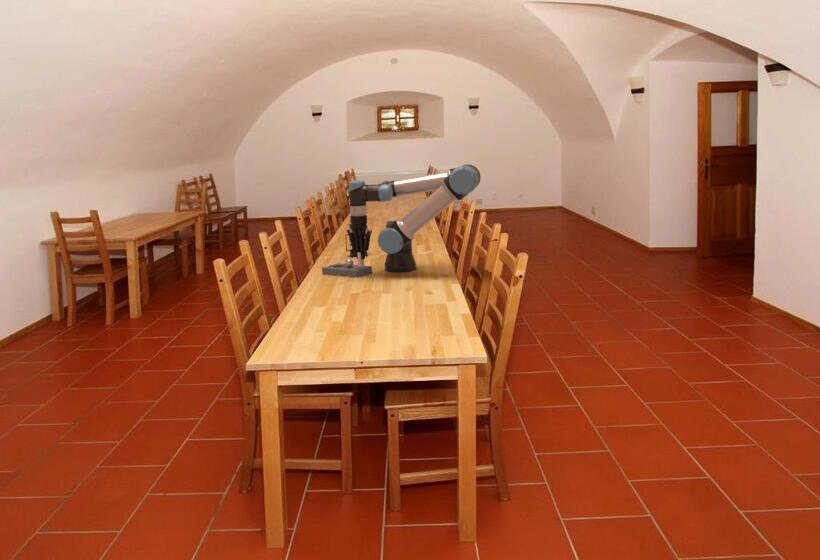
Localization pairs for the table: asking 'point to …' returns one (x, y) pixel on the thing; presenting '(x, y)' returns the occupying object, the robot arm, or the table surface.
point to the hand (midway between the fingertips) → (361, 265)
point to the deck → (346, 270)
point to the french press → (352, 253)
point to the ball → (349, 262)
